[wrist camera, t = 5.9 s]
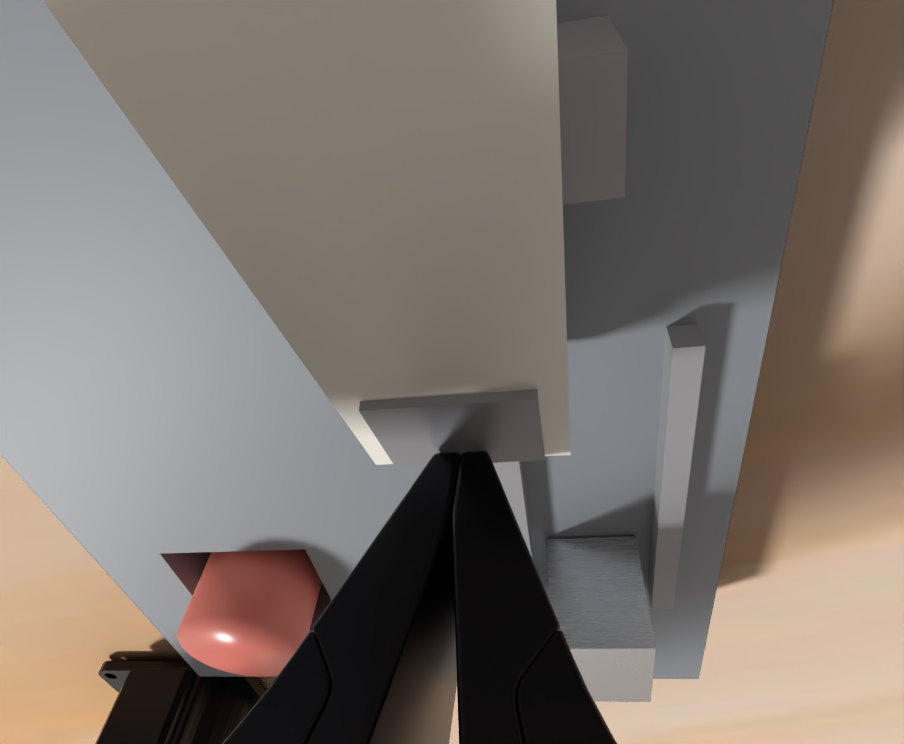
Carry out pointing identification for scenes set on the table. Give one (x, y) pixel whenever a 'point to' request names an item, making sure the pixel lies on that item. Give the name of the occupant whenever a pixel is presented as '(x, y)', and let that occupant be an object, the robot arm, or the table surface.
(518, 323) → the white long block
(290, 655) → the button
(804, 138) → the panel
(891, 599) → the table surface
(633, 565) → the slider
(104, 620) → the table surface
